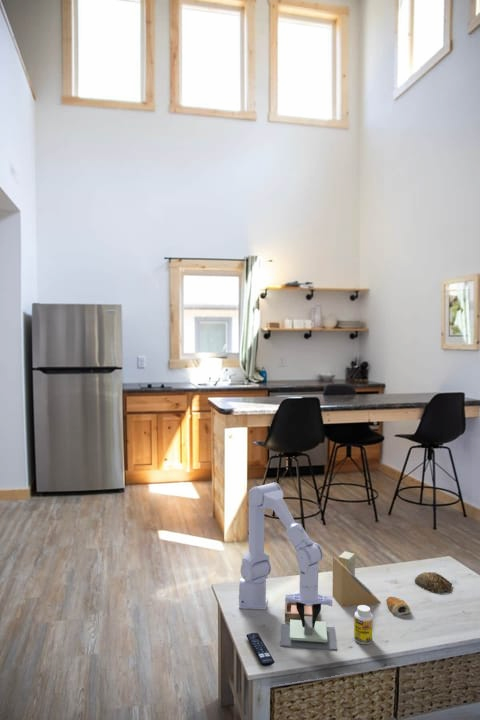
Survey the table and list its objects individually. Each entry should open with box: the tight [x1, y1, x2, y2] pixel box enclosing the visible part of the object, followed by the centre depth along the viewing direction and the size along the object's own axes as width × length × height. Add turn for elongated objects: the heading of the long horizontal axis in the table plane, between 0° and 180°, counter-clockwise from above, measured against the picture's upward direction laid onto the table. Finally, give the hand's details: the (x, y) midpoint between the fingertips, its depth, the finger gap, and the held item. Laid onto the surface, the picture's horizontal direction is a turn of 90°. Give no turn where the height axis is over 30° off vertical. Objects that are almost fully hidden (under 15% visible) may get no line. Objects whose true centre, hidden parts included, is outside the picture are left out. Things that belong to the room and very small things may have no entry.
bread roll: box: [414, 571, 453, 594], centre depth 202 cm, size 13×12×5 cm
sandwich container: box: [332, 556, 382, 608], centre depth 191 cm, size 9×15×15 cm, turn 102°
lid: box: [289, 616, 327, 642], centre depth 167 cm, size 11×9×4 cm
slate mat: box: [279, 623, 338, 651], centre depth 167 cm, size 17×12×1 cm
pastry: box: [385, 596, 411, 616], centre depth 185 cm, size 9×7×4 cm
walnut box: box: [284, 602, 319, 623], centre depth 180 cm, size 11×9×3 cm
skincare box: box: [337, 550, 356, 577], centre depth 200 cm, size 6×4×12 cm
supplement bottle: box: [353, 605, 374, 645], centre depth 165 cm, size 6×6×10 cm
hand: (308, 625), depth 167 cm, fingers closed on lid, 2 cm apart
